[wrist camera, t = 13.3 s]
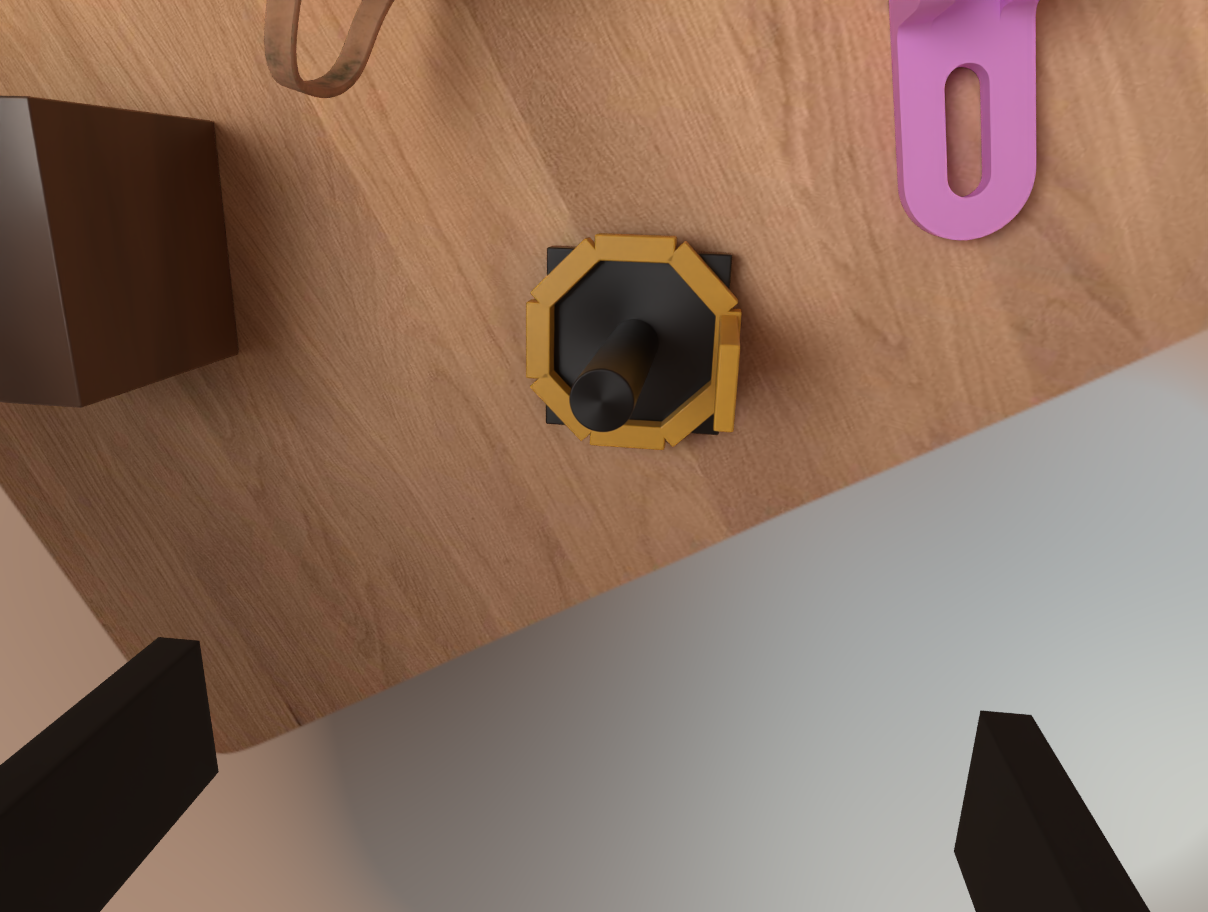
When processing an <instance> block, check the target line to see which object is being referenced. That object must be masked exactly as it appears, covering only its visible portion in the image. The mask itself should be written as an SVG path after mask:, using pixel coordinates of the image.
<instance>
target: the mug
mask: <svg viewBox="0 0 1208 912" xmlns="http://www.w3.org/2000/svg"><path fill="white" fill-rule="evenodd" d="M393 2H394V0H362V2H361V4H360V5H359V8H358V10H357V12H356V14H355V17H354V19H353V22H352V24H351V27H350V30H349V32H348V35H347V38H346V41H345V43H344V46H343V48H342V51H341V53H340V55H339V57H338V59H337V61H336V63H335V64H334V66H333V67H332V68H331V69H330V71H329V72H327V73H326V74H325V75H324V76H322V77H320V78H318V79H315V80H310V81H303V80H302V79H301V77H300V75H299V72H298V67H297V57H296V44H297V30H298V20H299V12H300V5H301V0H267V6H266V16H265V32H264V44H265V56H266V61H267V66H268V68H269V70H270V73H271V75H272V77H273V78H274V79H275V80H276V82H277V83H279V84H281V85H282V86H285V87H287V88H290V89H293V90H296V91H299V92H302V93H305V94H308V95H311V96H314V97H319V98H331V97H335V96H338V95H340V94H342V93H344V92H346V91H347V90H348V89H349V88H350V87H352V86H353V85H354V84H355V82H356V81H357V80H358V79H359V77H360V75H361V74H362V72H363V70H364V68H365V66H366V64H367V61H368V59H369V56H370V54H371V51H372V48H373V46H374V43H375V40H376V37H377V35H378V32H379V30H380V27H381V25H382V23H383V20H384V18H385V16H386V14H387V12H388V10H389V9H390V7H391V5H392V3H393Z"/></svg>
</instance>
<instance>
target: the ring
mask: <svg viewBox="0 0 1208 912" xmlns="http://www.w3.org/2000/svg"><path fill="white" fill-rule="evenodd" d="M676 243H677V237H676V236H661V235H634V234H607V233H599V234H596V235H595V243H594V241H593V240H592V239H591V238H590V237H588V238H586V239H584V240H583V241H582V242H581V243H580V244H579V245H578V246H577V247H576V248H575V249H574V250H573V251H572V252H571V253H570V254H569V255H568V256H567V257H566V258H565V259H564V260H563V261H562V262H561V263H560V264H559V265H558V266H557V267H556V268H555V269H554V270H553V271H551V272H550V273H549V274H548V275H547V276H546V277H545V278H544V279H543V280H542V281H541V282H540V283H539V284H538V285H537V286H536V287H535V288H534V289H533V290H532V291H531V295H532V296H533V297H534V298H535V299H531V300H530V301H528V302H527V303H526V377H527V378H536V379H537V380H536V381H535V382H534V383H533V384H532V385H531V386H530V388H531V389H532V390H533V391H534V392H535V393H536V394H537V395H538V396H539V397H540V398H541V399H542V400H543V401H544V402H545V404H546V405H547V406H548V407H549V408H550V409H551V410H552V411H553V412H554V413H555V414H556V415H557V416H558V417H559V418H560V419H561V420H562V422H563V423H564V424H565V425H566V426H567V427H568V428H569V429H570V430H571V431H572V432H573V433H574V434H575V435H576V436H577V437H578V438H579V439H580V441H582V440H583V439H585V438H586V437H587V436H588V435H589V434H590V445H596V446H611V447H626V448H640V449H655V450H664V448H665V443H666V440H667V441H668V443H669V444H670V445H671V446H672V447H674V446H675V445H677V444H678V443H679V442H680V441H681V440H682V439H684V438H685V437H686V436H687V435H688V434H690V433H691V432H692V431H693V430H694V429H696V428H697V427H698V426H699V425H700V424H702V423H703V422H704V421H705V420H706V419H707V418H709V417H710V416H711V415H712V414H713V413H714V424H713V429H714V431H718V432H733V430H734V420H735V407H736V395H737V383H738V370H739V358H740V340H739V339H740V327H741V314H742V313H741V309H732V308H733V307H734V306H735V305H736V304H738V299H737V298H736V297H735V296H734V294H733V293H732V292H731V291H730V290H729V289H728V288H727V286H726V285H725V284H724V283H723V282H722V281H721V280H720V279H719V277H718V276H717V275H716V274H715V273H714V272H713V271H712V269H711V268H710V267H709V266H708V265H707V264H706V263H705V262H704V260H703V259H702V258H701V257H700V256H699V255H698V254H697V252H696V251H695V250H694V249H693V248H692V247H691V246H690V245H689V243H688V242H687V241H685V242H683V243H682V244H681V245H680V246H679V247H678V248H677V249H676ZM600 261H623V262H647V263H669V264H670V265H671V266H672V267H673V268H674V270H675V271H676V272H677V273H678V274H679V275H680V276H681V277H682V279H683V280H684V281H685V282H686V283H687V284H688V285H689V286H690V288H691V289H692V290H693V291H694V292H695V293H696V294H697V295H698V297H699V298H700V299H701V300H702V301H703V302H704V303H705V304H706V306H707V307H708V308H709V309H710V310H711V311H712V312H713V313H714V315H715V316H716V319H715V333H714V347H713V362H712V376H711V380H710V381H709V382H708V383H706V384H705V385H704V386H703V387H702V388H701V389H699V390H698V391H697V392H696V393H695V394H694V395H692V396H691V397H690V398H689V399H688V400H687V401H685V402H684V403H683V404H682V405H681V406H680V407H678V408H677V409H676V410H675V411H674V412H673V413H671V414H670V415H669V416H668V417H667V418H666V419H664V420H663V421H662V422H660V421H644V420H628V421H627V422H626V423H625V424H624V425H623V426H621V427H620V428H618V429H616V430H614V431H610V432H596V431H592V430H590V429H588V428H586V427H584V426H583V425H581V424H580V423H579V422H578V421H577V419H576V418H575V417H574V415H573V413H572V411H571V408H570V403H569V396H570V391H571V388H570V387H569V386H568V385H567V384H566V383H565V382H564V380H563V379H562V378H561V377H560V376H559V375H558V374H557V373H556V372H555V371H554V305H555V304H556V303H557V302H558V301H559V300H560V299H561V298H562V297H563V296H564V295H565V294H566V293H567V292H568V291H569V290H571V289H572V288H573V287H574V286H575V285H576V284H577V283H578V282H579V281H580V280H581V279H582V278H583V277H584V276H585V275H586V274H587V273H588V272H589V271H590V270H591V269H592V268H593V267H594V266H595V265H596V264H597V263H599V262H600Z"/></svg>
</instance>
